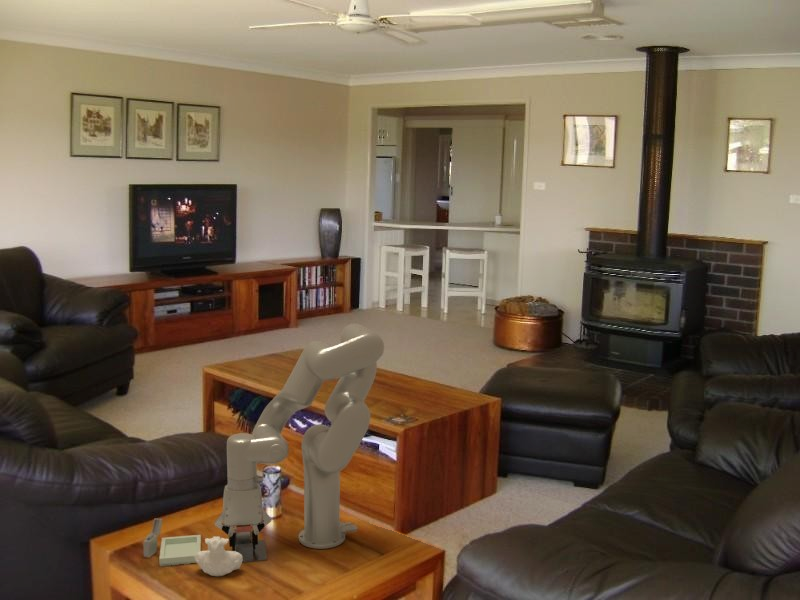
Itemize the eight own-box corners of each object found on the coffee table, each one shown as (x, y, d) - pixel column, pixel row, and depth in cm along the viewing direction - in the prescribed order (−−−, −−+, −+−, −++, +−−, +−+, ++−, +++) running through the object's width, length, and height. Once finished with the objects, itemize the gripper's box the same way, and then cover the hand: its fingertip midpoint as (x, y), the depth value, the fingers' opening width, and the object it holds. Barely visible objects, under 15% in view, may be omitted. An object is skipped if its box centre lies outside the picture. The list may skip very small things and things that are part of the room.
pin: (250, 548, 227) (249, 520, 226) (250, 554, 224) (250, 525, 222) (236, 549, 226) (236, 521, 225) (237, 556, 223) (236, 527, 221)
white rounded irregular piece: (194, 581, 214) (186, 561, 206) (199, 552, 219) (191, 531, 211) (242, 582, 214) (236, 561, 206) (246, 553, 219) (240, 532, 211)
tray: (200, 542, 230) (200, 534, 230) (200, 563, 219) (200, 555, 218) (162, 545, 228) (161, 537, 228) (159, 566, 217) (159, 558, 216)
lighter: (149, 557, 221) (148, 528, 220) (143, 556, 222) (142, 527, 220) (163, 545, 228) (162, 517, 227) (157, 544, 229) (156, 516, 227)
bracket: (264, 540, 232) (264, 526, 231) (267, 560, 221) (266, 545, 220) (234, 543, 230) (234, 529, 229) (235, 563, 219) (235, 548, 218)
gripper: (274, 474, 227) (275, 539, 230) (208, 478, 223) (210, 544, 227) (276, 485, 220) (277, 551, 223) (208, 489, 216) (210, 557, 219)
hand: (243, 547), depth 225 cm, fingers open, 4 cm apart
